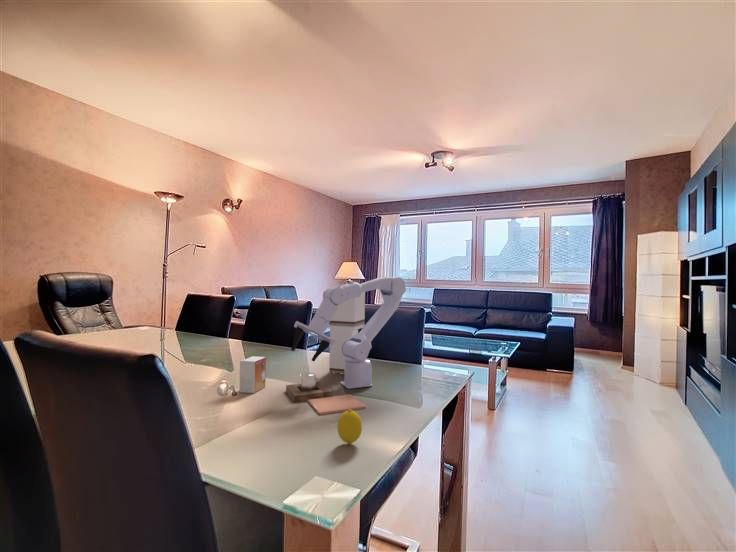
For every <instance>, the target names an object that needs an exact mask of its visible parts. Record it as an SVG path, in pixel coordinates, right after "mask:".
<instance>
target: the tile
mask: <svg viewBox="0 0 736 552" xmlns="http://www.w3.org/2000/svg"><path fill="white" fill-rule="evenodd" d="M307 402H308V404H309V405H310V406H311V407H312V408H313V409H314V410H315V412H316V413H317V414H318V415H319V416H322V415H329V414H335V413H344V412H345V411H348V410H349V409H351V410H352V411H355V410H363V409H366V405H365V404H363V403H362V402H361V401H359V400H358V399H357V398H355V397H354V396H353V395H352V394H343V395H335V396H332V397H325V398H318V399H310V400H308V401H307Z"/></svg>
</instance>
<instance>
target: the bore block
mask: <svg viewBox="0 0 736 552" xmlns="http://www.w3.org/2000/svg"><path fill="white" fill-rule="evenodd" d="M285 392H286V393H287V394H288V396H289V397H290V398H291V400H292V401H293V402H294V403H298V402H306V401H307V402H308V400H310V399H318V398H325V397H333V396H332V394H333V393H332V389H330V388H329V387H327V386H326V385H325V384H324V383H323V382H322V381H316V390H314V391H305V392H301V383H295V384H287V385H286V384H285Z"/></svg>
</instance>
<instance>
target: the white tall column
mask: <svg viewBox="0 0 736 552" xmlns="http://www.w3.org/2000/svg"><path fill="white" fill-rule="evenodd" d="M330 288H337V285H336V286H335V285H332V286H330ZM338 305H339V306H338V308H337V309H336V311H335V313H334V315H333V317H332V319H331V321H330V323H329V337H330V338H332V339H334V340H335V342H334V344H333V346H332V345H329V362H328V363H329V365H328V366H329V371H328V372H334V373H333V374H335V373H343V374H342V375H344V369H345V359H344V355H343V354H342V351H341V347H342V344H343V343H344V342H345V341H346V340H349V339H350V338H351V337H352V336H353V335H355V334H357V333H359V330H360V329H362V328H363V327H364V326H365V325H366V321H365V317H366V314H365V313H366V309H365V307H366V292H362V293H361V296H360V297H358V298H354V299H351V300H348V301H345V302H344V303H343V304H338Z"/></svg>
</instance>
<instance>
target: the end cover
mask: <svg viewBox="0 0 736 552" xmlns="http://www.w3.org/2000/svg"><path fill="white" fill-rule="evenodd" d="M316 382H317V374H316V373H315V372H304V373H303V372H302V373H301V374H300V384H301V392H305V391H314V390H316Z"/></svg>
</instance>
